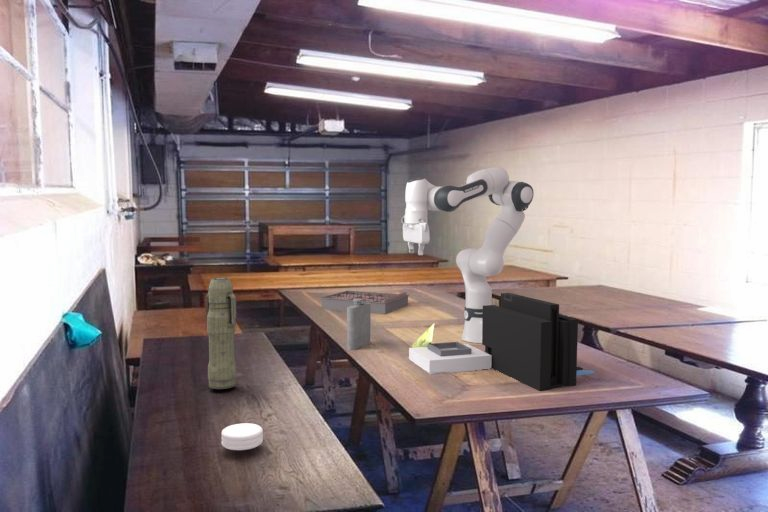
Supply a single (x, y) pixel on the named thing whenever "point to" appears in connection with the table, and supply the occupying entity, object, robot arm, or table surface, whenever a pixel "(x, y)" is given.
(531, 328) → the game console
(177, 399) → the table surface
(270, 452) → the table surface
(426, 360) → the white box with hole
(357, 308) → the hip flask
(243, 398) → the table surface
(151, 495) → the table surface
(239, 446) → the coaster
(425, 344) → the tube
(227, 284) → the thermos
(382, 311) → the organizer tray
